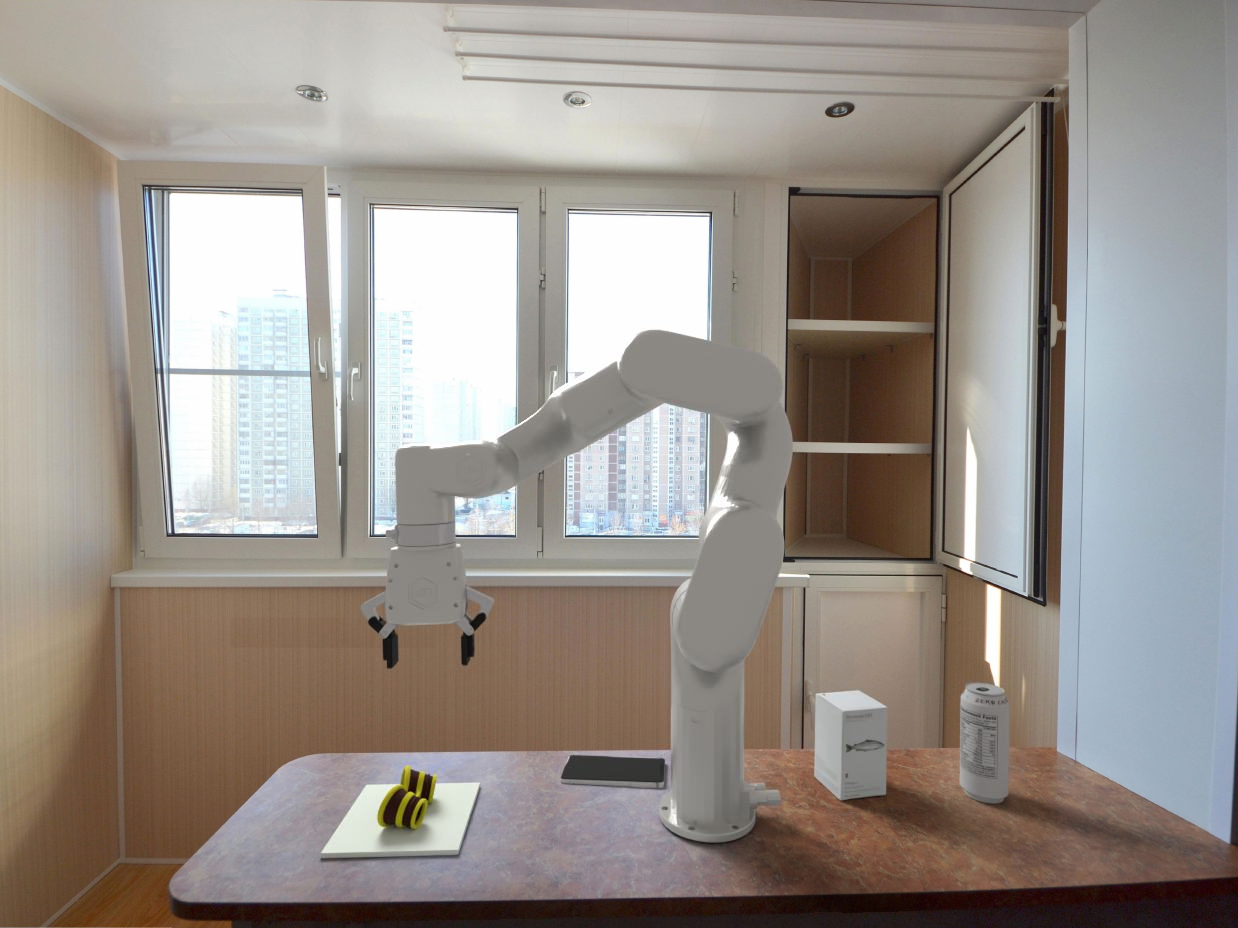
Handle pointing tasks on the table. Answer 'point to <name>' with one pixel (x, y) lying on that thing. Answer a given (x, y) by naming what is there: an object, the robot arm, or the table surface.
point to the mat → (431, 838)
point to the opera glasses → (407, 800)
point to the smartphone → (614, 771)
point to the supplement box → (850, 744)
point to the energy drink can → (984, 742)
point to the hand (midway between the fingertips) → (429, 663)
